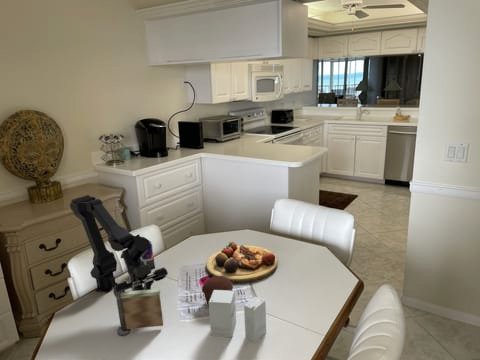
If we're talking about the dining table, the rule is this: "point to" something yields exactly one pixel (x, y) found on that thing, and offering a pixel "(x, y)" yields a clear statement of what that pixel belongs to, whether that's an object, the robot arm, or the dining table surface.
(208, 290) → the muffin
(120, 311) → the gate panel
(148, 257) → the energy drink
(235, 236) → the dining table surface
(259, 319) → the skincare box
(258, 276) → the wooden plate with food
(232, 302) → the supplement box
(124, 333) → the gate pivot base
